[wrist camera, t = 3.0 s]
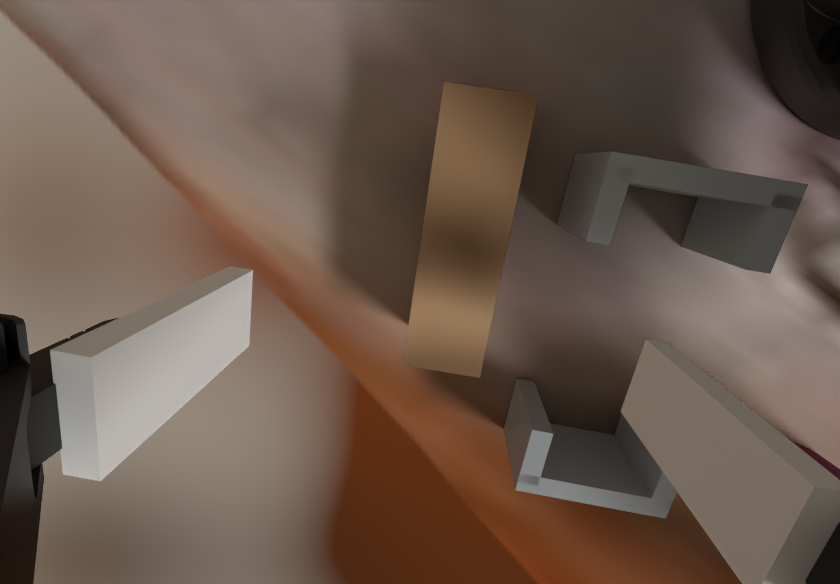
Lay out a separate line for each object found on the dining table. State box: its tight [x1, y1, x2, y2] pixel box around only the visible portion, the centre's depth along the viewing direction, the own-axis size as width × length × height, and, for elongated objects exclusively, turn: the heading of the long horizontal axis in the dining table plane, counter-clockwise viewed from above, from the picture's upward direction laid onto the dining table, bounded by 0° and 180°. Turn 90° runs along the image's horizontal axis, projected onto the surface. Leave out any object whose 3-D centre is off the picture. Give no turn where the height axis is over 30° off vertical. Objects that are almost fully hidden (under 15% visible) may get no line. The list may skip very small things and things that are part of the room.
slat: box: [403, 82, 539, 378], centre depth 20 cm, size 12×4×5 cm, turn 172°
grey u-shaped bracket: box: [557, 151, 808, 274], centre depth 19 cm, size 4×7×5 cm, turn 81°
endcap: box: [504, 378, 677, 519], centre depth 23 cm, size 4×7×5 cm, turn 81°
